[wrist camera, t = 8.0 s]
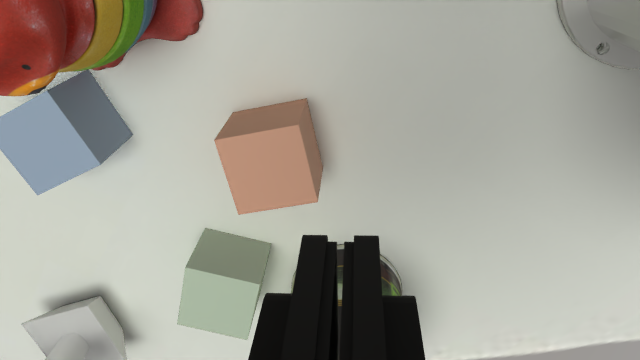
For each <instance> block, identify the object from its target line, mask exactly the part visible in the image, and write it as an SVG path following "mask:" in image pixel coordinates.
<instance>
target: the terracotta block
mask: <svg viewBox="0 0 640 360" xmlns="http://www.w3.org/2000/svg"><path fill="white" fill-rule="evenodd" d="M214 141H215V144H216V147H217V150H218V153H219V156H220V159H221V162H222V165H223V169H224V172H225V175H226V178H227V181H228V184H229V187H230V190H231V193H232V196H233V199H234V202H235V205H236V208H237V211H238V215H240V214H246V213H252V212H258V211H265V210H271V209H277V208H283V207H290V206H296V205H302V204H308V203H315V202H318V197H319V190H320V184H321V177H322V170H323V166H322V162H321V158H320V153H319V149H318V145H317V140H316V136H315V132H314V128H313V123H312V119H311V115H310V111H309V106H308V102H307V98H306V99H300V100H295V101H290V102H285V103H280V104H274V105H269V106H264V107H259V108H253V109H248V110H243V111H238V112H233V113H232V115H231V116H230V118H229V119H228V121H227V122H226V124H225V125H224V127H223V128H222V130H221V131H220V132H219V134H218V135H217V137H216V138H215V140H214Z"/></svg>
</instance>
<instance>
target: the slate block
mask: <svg viewBox="0 0 640 360" xmlns="http://www.w3.org/2000/svg"><path fill="white" fill-rule="evenodd" d="M132 135H133V134H132V132H131V131H130V130H129V128H128V127H127V125H126V124H125V122H124V121H123V119H122V118H121V116H120V115H119V114H118V112H117V111H116V109H115V108H114V106H113V105H112V103H111V102H110V100H109V99H108V98H107V96H106V95H105V93H104V92H103V90H102V89H101V87H100V86H99V84H98V83H97V82H96V80H95V79H94V77H93V76H92V74H91V73H90V71H89V70H86V71H84V72H82V73H80V74H78V75H76V76H74V77H72V78H70V79H69V80H67V81H65V82H63V83H61V84H59V85H57V86H55V87H53V88H51V89H49V90H48V91H46V92H44V93H42V94H40V95H39V96H37V97H35V98H33V99H31V100H30V101H28V102H26V103H24V104H22V105H21V106H19V107H17V108H15V109H13V110H12V111H10V112H8V113H6V114H4V115H3V116H1V117H0V150H1V151H2V152H3V153H4V155H5V156H6V157H7V158H8V159H9V161H10V162H11V163H12V164H13V166H14V167H15V168H16V169H17V171H18V172H19V173H20V174H21V176H22V177H23V178H24V179H25V181H26V182H27V183H28V184H29V185H30V187H31V188H32V189H33V190H34V192H35V193H36V194H37V195H39V194H42V193H44V192H46V191H48V190H50V189H52V188H54V187H56V186H58V185H60V184H62V183H64V182H66V181H68V180H70V179H72V178H74V177H76V176H78V175H80V174H82V173H84V172H86V171H88V170H90V169H92V168H94V167H96V166H99V165H101V164H102V163H103V162H104V161H105V160H106V159H107V158H108V157H109V156H110V155H111V154H113V153H114V152H115V151H116V150H117V149H118V148H119V147H120V146H121V145H122V144H123V143H125V142H126V141H127V140H128V139H129V138H130V137H131V136H132Z"/></svg>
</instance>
